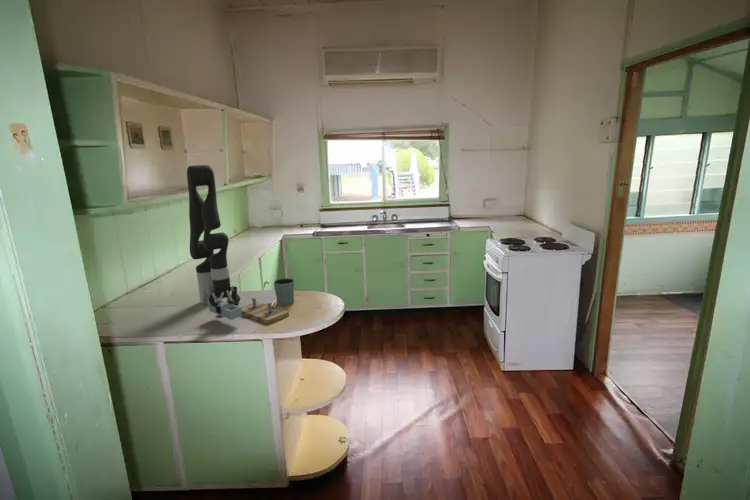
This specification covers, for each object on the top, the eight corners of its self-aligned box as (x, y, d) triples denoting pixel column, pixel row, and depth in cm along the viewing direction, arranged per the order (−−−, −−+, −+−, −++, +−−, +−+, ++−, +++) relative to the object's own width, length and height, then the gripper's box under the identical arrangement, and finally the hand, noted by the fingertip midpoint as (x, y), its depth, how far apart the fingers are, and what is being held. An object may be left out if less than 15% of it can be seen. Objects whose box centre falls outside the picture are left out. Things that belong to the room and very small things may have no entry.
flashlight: (231, 314, 198) (229, 303, 197) (220, 314, 198) (218, 304, 197) (241, 302, 213) (239, 292, 212) (230, 302, 213) (229, 293, 212)
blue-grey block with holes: (209, 310, 192) (208, 302, 191) (220, 306, 196) (218, 299, 195) (231, 320, 181) (230, 311, 180) (242, 315, 185) (241, 307, 184)
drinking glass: (272, 303, 210) (269, 281, 207) (288, 298, 217) (286, 276, 214) (283, 308, 203) (280, 285, 200) (300, 302, 210) (298, 280, 207)
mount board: (237, 313, 199) (235, 299, 197) (258, 305, 208) (256, 292, 206) (268, 324, 185) (266, 310, 183) (289, 315, 194) (287, 301, 192)
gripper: (229, 271, 191) (234, 304, 196) (201, 279, 181) (206, 314, 185) (239, 273, 187) (243, 308, 191) (210, 282, 176) (215, 318, 180)
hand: (225, 311), depth 188 cm, fingers closed on blue-grey block with holes, 5 cm apart
